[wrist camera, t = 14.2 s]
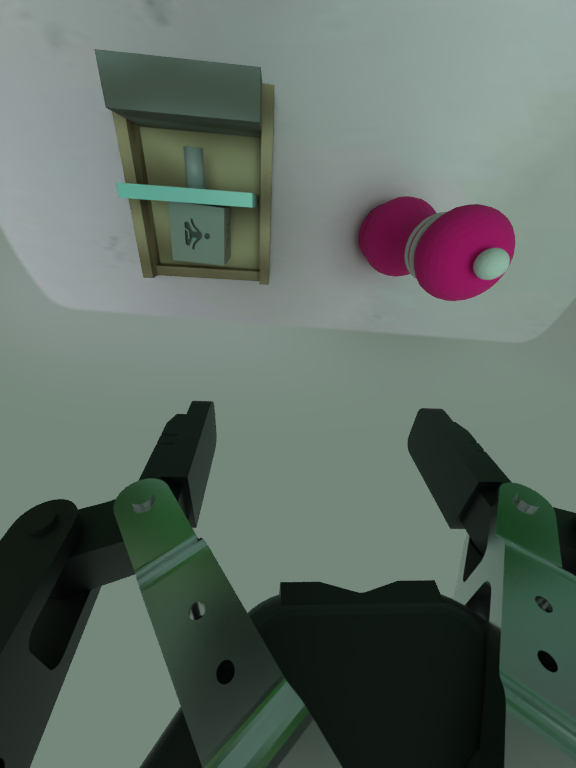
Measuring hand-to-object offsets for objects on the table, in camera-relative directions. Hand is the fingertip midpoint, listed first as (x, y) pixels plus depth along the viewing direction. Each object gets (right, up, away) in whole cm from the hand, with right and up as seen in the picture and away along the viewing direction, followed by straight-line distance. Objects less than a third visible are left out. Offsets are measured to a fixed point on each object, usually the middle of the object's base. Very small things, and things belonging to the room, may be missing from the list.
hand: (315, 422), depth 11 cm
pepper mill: (+10, +19, +22) cm, 31 cm away
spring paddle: (-9, +22, +18) cm, 30 cm away
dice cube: (-10, +18, +21) cm, 29 cm away
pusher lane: (-10, +21, +19) cm, 30 cm away
